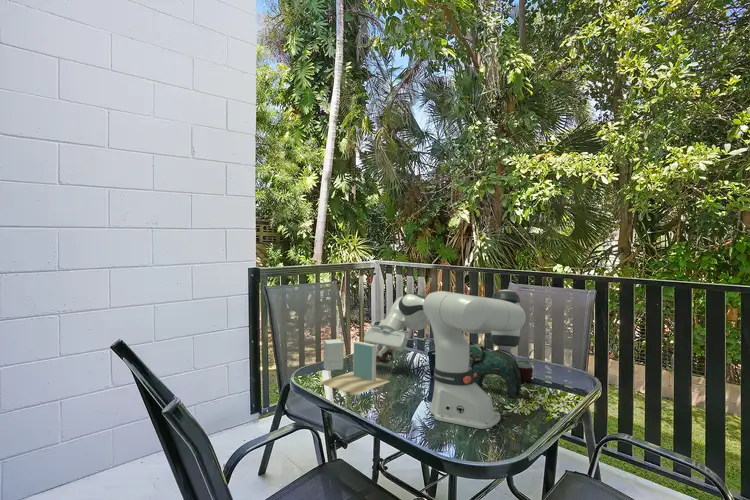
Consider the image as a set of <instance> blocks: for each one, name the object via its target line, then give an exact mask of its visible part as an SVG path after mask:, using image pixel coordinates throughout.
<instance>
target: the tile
mask: <svg viewBox="0 0 750 500" xmlns="http://www.w3.org/2000/svg"><path fill="white" fill-rule="evenodd" d="M352 361H353V364H352V365H353V367H352V370H353V371H352V372H353V377H357V378H361V379H364V380H368V381H372V382H373V381H376V378H377V361H376V345H373V344H368V343H365V342H362V341H353V360H352Z"/></svg>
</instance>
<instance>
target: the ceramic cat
mask: <svg viewBox="0 0 750 500" xmlns="http://www.w3.org/2000/svg"><path fill="white" fill-rule="evenodd" d="M487 340H488V341H490V342H491V343H492V344H493V341H492V340H491V338H489V337H488V338H485V339H484V341H483V343H485V341H487ZM485 345H486V344H483V345H482V344H481V343H474V342H472V341H470V342H469V347H470V361H471V367H470V370H471V372H472V373H473V374H474V373H477V374H476V375H477V376H476V375H475V376H476V377H474V382H475V383H476V384H477V385H478V386H479V387H480V388H481V389H482V388H483V387H484V386H483V385H484V384H483V381H484V378H485V377H486V375H495V376H498V377H500V378H502V379H504V381H505V384H506V385H507V389H508V395H509V397H511V398H513V399H518V398H519V396H520V393H521V384H522V382H521V377H520V370H519V367H518V364H517V358H516V357H515V356H514V354H513V353H512V352H510V351H508V350H506V349H494V350H489V349H487V348H486V346H485Z"/></svg>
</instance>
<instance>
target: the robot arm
mask: <svg viewBox="0 0 750 500" xmlns="http://www.w3.org/2000/svg"><path fill="white" fill-rule="evenodd" d="M526 317H527V316H526V312H525V310H524V309H523V307H522V306H521V298H520V295H519V294H518V293H517V292H516V291H513V290H511V289H500V290H498V291H495V292H494V293H493V294H492V297H485V296H477V295H470V294H463V293H459V292H458V293H457V292H452V291H444V290H440V291H434V292H430V293H429V294H427V295H426V296H425V295H424V296H423V295H420V294H418V293H413V292H412V293H407V294H404V295H403V296H399V297H398V298H397V299H396V300H395V301H394V303H393V304H392V305H391V307H390V309H389V311H388V315H387V316H386V317H385V318H384V319H381V320H376V321H373V322H372V323H371V326H370V327H369V328H368V330H367V331H366V333H365V335H364V337H363V341H364V342H363V343H368V344H373V345H376V356H380V357H381V356H382V354H383V353H385V352H386V351H387V350H388V349H391V350H393V351H397V352H403V351H405V349H406V347H407V345H408V341H409V339H410V337H411V334H410V332H409V331H408V330H403V329H404V327H406V328H407V329H410V330H411V331H415V332H416V331H417V332H419V331H422V330H425V329H426V328H427V327H428V325H429V324H430V326H431V330H432V335H433V338H434V346H435V347H434V349H435V354H434V356H435V359H434V360H435V362H434V363H435V366H434V367H433V382H434V383H433V384H434V386H433V394H432V400H431V404H430V406H429V412H430V413H431V414H432V415H433V416H434V417H433V418H434V419H435V420H437V421H440V422H444V423H445V422H446V423H450V424H454V425H459V426H465V427H470V428H475V429H480V430H484V429H490V428H492V427H494V426H495V425H497V424H498V423H499V422H500V420H501V413H500V412H498V411H495V410H494V405H493V401H492V398H491V396H490V395H489V394H488V393H487V392H486V391H485V390H483V389H482V388H480V387H479V386H478V385H477V384H476V383H475V382H474V377H476V376H477V375H476V374H477V373H474V374H473V373H472V372H471V368H470V363H471V362H470V361H471V360H470V347H469V345H470V343H469V342H468V340H467V339H466V338H465V336H464V333H468V334H490V335H489V338H490V339H491V340H492V341H493V343H492V344H493V345H494V346H495V347H498V348H500V349H502V350H508V349H509V350H510V349H513V348H516V347H518V346H519V344H520V341H521V335H520V334H521V329H522V328H523V326H524V325H525V323H526V320H527V319H526ZM463 332H464V333H463ZM380 348H383V349H381V350H380V351H379V349H380ZM475 375H476V376H475Z"/></svg>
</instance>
